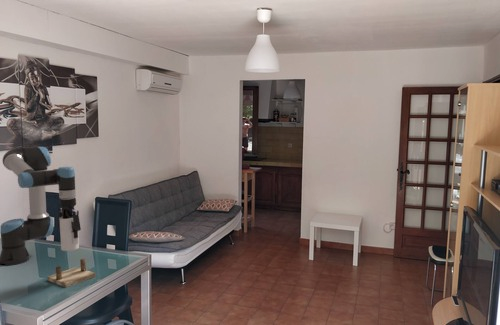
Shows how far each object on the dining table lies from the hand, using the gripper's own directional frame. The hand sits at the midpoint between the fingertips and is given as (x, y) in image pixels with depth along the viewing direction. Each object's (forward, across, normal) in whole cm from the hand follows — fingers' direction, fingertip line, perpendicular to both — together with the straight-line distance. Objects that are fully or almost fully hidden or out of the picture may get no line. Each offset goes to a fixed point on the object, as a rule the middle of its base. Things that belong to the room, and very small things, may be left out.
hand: (69, 242), depth 205 cm
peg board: (+19, 0, 0) cm, 19 cm away
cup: (+3, 0, 0) cm, 3 cm away
